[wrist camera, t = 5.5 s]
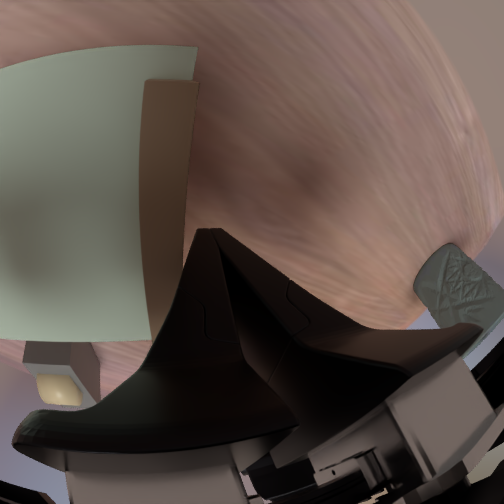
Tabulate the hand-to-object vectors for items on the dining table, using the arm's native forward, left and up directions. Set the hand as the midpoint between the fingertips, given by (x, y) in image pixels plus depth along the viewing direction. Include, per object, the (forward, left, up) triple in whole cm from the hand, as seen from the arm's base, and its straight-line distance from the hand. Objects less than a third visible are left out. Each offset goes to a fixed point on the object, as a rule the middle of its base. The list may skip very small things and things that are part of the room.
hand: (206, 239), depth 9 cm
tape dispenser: (-15, +10, -7) cm, 19 cm away
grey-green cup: (-10, -32, -7) cm, 34 cm away
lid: (0, +8, -1) cm, 8 cm away
